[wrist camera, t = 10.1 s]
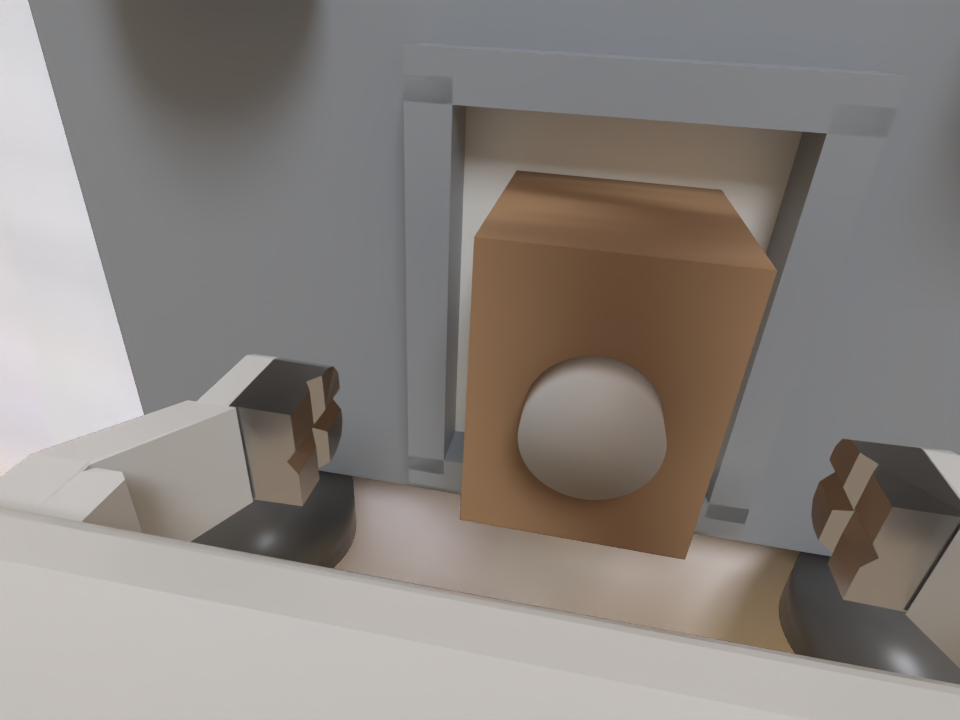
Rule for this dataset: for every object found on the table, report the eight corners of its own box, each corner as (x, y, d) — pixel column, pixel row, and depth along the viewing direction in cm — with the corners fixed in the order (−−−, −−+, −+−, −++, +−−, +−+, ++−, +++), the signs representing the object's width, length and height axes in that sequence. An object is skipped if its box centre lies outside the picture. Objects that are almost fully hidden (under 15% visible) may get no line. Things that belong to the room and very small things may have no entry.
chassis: (183, 459, 22) (81, 563, 18) (31, -144, 14) (-238, -223, 9) (1018, 602, 18) (1143, 779, 14) (1549, -113, 10) (2299, -225, 5)
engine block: (498, 391, 17) (451, 549, 12) (516, 170, 14) (463, 253, 9) (664, 416, 16) (690, 592, 11) (721, 189, 13) (791, 291, 8)
